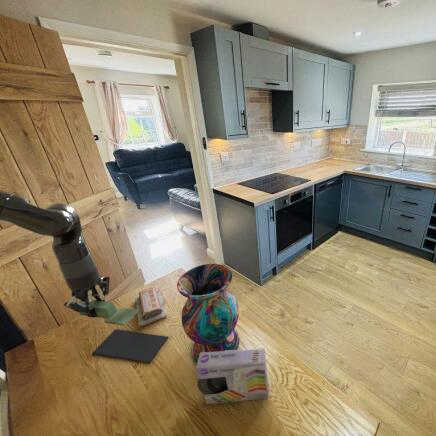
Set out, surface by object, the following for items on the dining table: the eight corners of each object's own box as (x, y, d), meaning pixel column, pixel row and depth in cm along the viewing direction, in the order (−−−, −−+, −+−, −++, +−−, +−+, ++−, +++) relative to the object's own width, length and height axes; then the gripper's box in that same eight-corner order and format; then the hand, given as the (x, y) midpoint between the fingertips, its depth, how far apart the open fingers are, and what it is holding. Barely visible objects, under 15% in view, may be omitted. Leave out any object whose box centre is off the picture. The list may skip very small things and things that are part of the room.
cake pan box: (201, 406, 68) (191, 366, 61) (206, 388, 73) (197, 349, 66) (268, 402, 70) (266, 362, 62) (268, 384, 74) (266, 345, 67)
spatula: (75, 319, 76) (70, 308, 74) (92, 305, 81) (87, 295, 79) (124, 325, 74) (120, 315, 72) (138, 311, 79) (135, 300, 77)
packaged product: (132, 292, 104) (158, 283, 109) (135, 300, 106) (160, 292, 111) (136, 319, 90) (165, 308, 96) (139, 328, 92) (167, 316, 98)
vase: (240, 320, 97) (234, 258, 84) (243, 362, 81) (236, 293, 68) (192, 328, 93) (179, 265, 80) (185, 375, 76) (167, 304, 64)
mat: (92, 353, 82) (92, 352, 82) (115, 329, 92) (115, 329, 91) (150, 362, 80) (149, 362, 80) (168, 337, 89) (168, 336, 89)
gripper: (89, 255, 77) (106, 296, 84) (43, 283, 65) (67, 328, 72) (110, 257, 76) (125, 298, 84) (67, 286, 64) (89, 332, 71)
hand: (98, 312), depth 78 cm, fingers closed on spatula, 3 cm apart
